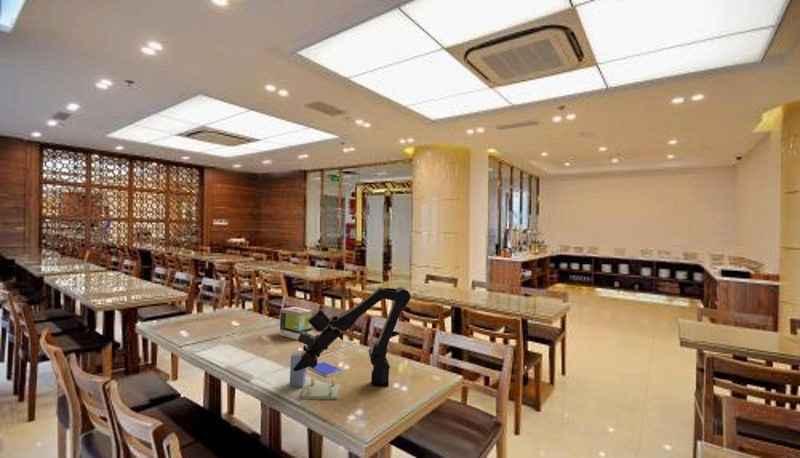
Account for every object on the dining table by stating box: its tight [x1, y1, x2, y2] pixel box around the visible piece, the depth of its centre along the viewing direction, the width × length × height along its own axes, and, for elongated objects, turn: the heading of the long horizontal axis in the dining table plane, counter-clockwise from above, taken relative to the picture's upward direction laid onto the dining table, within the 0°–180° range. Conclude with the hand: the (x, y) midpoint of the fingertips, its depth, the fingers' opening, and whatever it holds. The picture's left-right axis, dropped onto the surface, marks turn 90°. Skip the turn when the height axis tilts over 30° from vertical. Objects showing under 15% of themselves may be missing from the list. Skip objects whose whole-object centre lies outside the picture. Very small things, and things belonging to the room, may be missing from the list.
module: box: [289, 350, 307, 389], centre depth 151 cm, size 5×5×13 cm
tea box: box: [279, 306, 313, 341], centre depth 214 cm, size 15×10×15 cm
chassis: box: [300, 377, 341, 400], centre depth 145 cm, size 13×11×4 cm
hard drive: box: [308, 361, 343, 378], centre depth 167 cm, size 2×8×12 cm
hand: (294, 367), depth 151 cm, fingers closed on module, 5 cm apart
